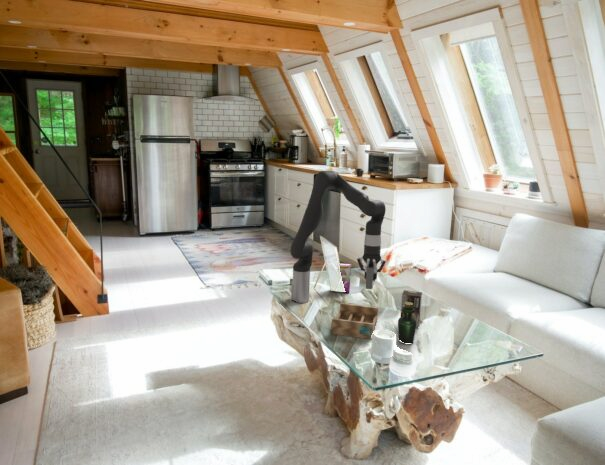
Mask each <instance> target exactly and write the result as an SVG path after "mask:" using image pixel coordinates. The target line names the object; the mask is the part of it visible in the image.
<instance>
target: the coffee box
mask: <svg viewBox="0 0 605 465" xmlns="http://www.w3.org/2000/svg"><path fill="white" fill-rule="evenodd" d="M401 293H402V294H401V308H400V317H403V316H404V312H403V311H402V308H403V307H405V302H411V303H413V308H414V309H415V312H414V313H412V316H411V317H412V318H414V319H415V320H416V322H417V324H416V329H419V328H420V324H421V312H422V298H423V292H422V291H421V292H420V291H412V290H403V292H401ZM418 327H419V328H418Z"/></svg>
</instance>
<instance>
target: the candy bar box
mask: <svg viewBox="0 0 605 465" xmlns="http://www.w3.org/2000/svg"><path fill="white" fill-rule="evenodd" d="M338 263H339V262H338ZM339 264H340V272H341V276H342V281H343V284H344V288H345V291H346V292H347V293H346V294H350V289H351V288H350V287H351V275H352V274H351V273H352V264H349V263H339Z"/></svg>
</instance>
